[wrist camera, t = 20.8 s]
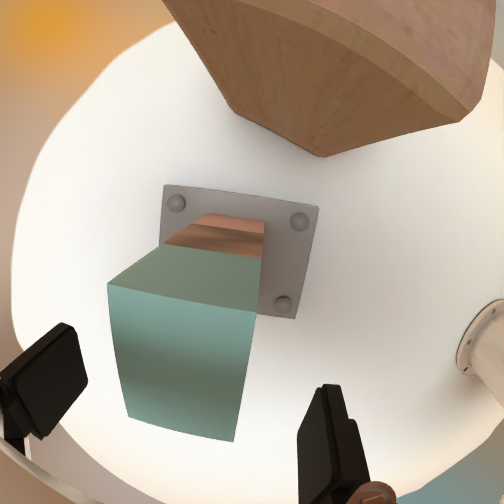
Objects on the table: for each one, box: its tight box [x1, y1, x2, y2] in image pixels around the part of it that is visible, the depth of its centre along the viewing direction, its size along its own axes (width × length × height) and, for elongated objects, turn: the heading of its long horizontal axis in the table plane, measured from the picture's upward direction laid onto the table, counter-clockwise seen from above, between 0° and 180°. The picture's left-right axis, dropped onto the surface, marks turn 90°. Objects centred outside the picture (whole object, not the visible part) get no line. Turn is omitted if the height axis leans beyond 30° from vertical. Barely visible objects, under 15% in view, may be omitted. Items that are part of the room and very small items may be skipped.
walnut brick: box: [164, 223, 264, 260], centre depth 17 cm, size 5×7×6 cm
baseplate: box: [159, 185, 319, 319], centre depth 23 cm, size 14×11×6 cm
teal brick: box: [107, 243, 262, 442], centre depth 12 cm, size 5×7×6 cm
